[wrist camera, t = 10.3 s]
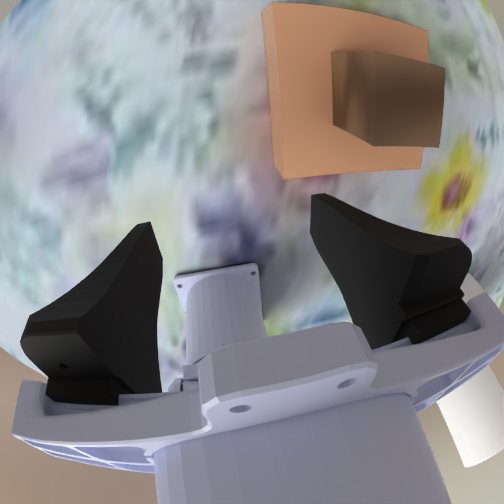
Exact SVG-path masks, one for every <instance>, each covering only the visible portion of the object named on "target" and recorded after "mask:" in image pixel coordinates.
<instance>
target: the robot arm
mask: <svg viewBox="0 0 504 504" xmlns="http://www.w3.org/2000/svg"><path fill="white" fill-rule="evenodd" d="M310 234H311V236H312V239H313V241H314V244H315V246H316V248H317V250H318V252H319V254H320V256H321V257H322V259H323V261H324V262H325V264H326V266H327V268H328V269H329V271H330V273H331V274H332V276H333V278H334V280H335V281H336V283H337V285H338V287H339V289H340V291H341V293H342V295H343V298H344V300H345V303H346V305H347V308H348V310H349V313H350V316H351V318H352V321H353V324H352V323H350V322H340V323H329V324H325V325H321V326H317V327H312V328H308V329H304V330H300V331H295V332H291V333H286V334H281V335H277V336H272V337H268V336H267V332H266V328H265V325H264V321H263V314H262V303H261V292H260V281H259V271H258V266H257V264H256V263H249V264H243V265H238V266H232V267H226V268H220V269H215V270H209V271H203V272H197V273H191V274H185V275H179V276H175V277H174V279H173V283H174V286H175V288H176V291H177V294H178V296H179V299H180V301H181V304H182V306H183V309H184V312H185V314H186V356H187V365H186V366H183V377H184V380H183V378H176V379H175V380H174V381H173V383H172V384H171V385H170V387H169V389H168V392H165V393H162V387H161V380H160V371H159V361H158V345H157V317H158V309H159V300H160V293H161V285H162V277H163V258H162V255H161V252H160V249H159V246H158V243H157V240H156V237H155V234H154V231H153V228H152V225H151V222H146V223H141V224H137V225H136V226H135V227H134V228H133V229H132V230H131V231H130V232H129V233H128V234H127V236H126V237H125V238H124V239H123V240H122V241H121V242H120V243H119V245H118V246H117V247H116V248H115V249H114V250H113V251H112V252H111V253H110V254H109V255H108V256H107V257H106V259H105V260H104V261H103V262H102V263H101V264H100V265H99V266H98V267H97V268H96V269H95V270H94V271H92V272H91V273H90V274H89V275H88V276H87V277H86V278H85V279H83V280H82V281H81V282H80V283H78V284H77V285H76V286H75V287H73V288H72V289H71V290H70V291H68V292H67V293H66V294H64V295H63V296H61V297H60V298H58V299H57V300H55V301H54V302H52V303H51V304H49V305H47V306H46V307H44V308H42V309H40V310H39V311H37V312H35V313H33V314H32V315H30V316H29V318H28V321H27V324H26V326H25V329H24V332H23V334H22V337H21V340H20V344H21V347H22V349H23V351H24V353H25V355H26V356H27V357H28V358H29V359H30V360H31V361H32V362H33V363H34V364H35V365H36V366H37V367H38V368H39V369H40V370H41V371H42V372H43V373H44V374H46V375H47V376H48V377H49V378H48V383H47V384H46V383H43V382H40V381H31V380H22V382H21V386H20V390H19V395H18V399H17V405H16V409H15V415H14V421H13V427H12V434H13V436H15V437H17V438H19V439H21V440H22V441H24V442H26V443H28V444H30V445H32V446H34V447H35V448H38V449H40V450H42V451H44V452H46V453H48V454H50V455H52V456H56V457H60V458H64V459H68V460H73V461H77V462H82V463H87V464H92V465H97V466H103V467H108V468H114V469H121V470H128V471H137V472H147V473H155V478H156V489H157V499H158V504H451V502H450V498H449V495H448V492H447V489H446V486H445V484H444V481H443V478H442V475H441V472H440V470H439V467H438V464H437V462H436V459H435V456H434V454H433V451H432V449H431V446H430V444H429V441H428V439H427V437H426V434H425V432H424V430H423V427H422V425H421V422H420V420H419V418H418V416H417V413H418V412H420V411H421V410H423V409H425V408H427V407H428V406H430V405H432V404H433V403H435V402H436V401H438V400H440V399H441V398H443V397H444V396H446V395H447V394H449V393H450V392H452V391H453V390H455V389H456V388H458V387H459V386H461V385H462V384H463V383H465V382H466V381H468V380H469V379H471V378H472V377H473V376H475V375H476V374H478V373H479V372H480V371H482V370H483V369H484V368H486V367H487V366H488V365H489V364H490V363H491V361H492V360H493V359H494V358H495V357H496V356H497V355H498V354H499V353H500V351H501V350H502V349H503V348H504V315H503V314H502V313H501V311H500V310H499V309H498V307H497V306H496V305H495V303H494V302H493V301H492V299H491V298H490V297H489V296H488V294H487V293H486V292H483V293H481V294H479V295H477V296H475V297H473V298H471V299H470V300H469V301H468V302H467V303H465V302H464V301H463V299H462V298H463V297H464V292H463V291H462V290H461V289H460V287H461V285H462V283H463V281H464V279H465V277H466V275H467V273H468V271H469V268H470V266H471V261H472V253H471V251H470V249H469V248H468V247H467V246H466V245H465V244H464V243H463V242H462V241H461V240H460V239H457V238H450V237H443V236H436V235H432V234H427V233H422V232H418V231H414V230H411V229H407V228H404V227H401V226H398V225H395V224H392V223H389V222H387V221H384V220H381V219H379V218H376V217H374V216H372V215H370V214H368V213H365V212H363V211H361V210H359V209H357V208H355V207H353V206H351V205H349V204H347V203H345V202H343V201H341V200H339V199H337V198H334V197H332V196H330V195H327V194H324V193H322V194H314V195H311V224H310ZM253 271H255V272H254V273H251V272H253ZM178 284H181V285H178Z"/></svg>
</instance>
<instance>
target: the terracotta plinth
mask: <svg viewBox="0 0 504 504" xmlns="http://www.w3.org/2000/svg"><path fill="white" fill-rule="evenodd" d="M261 13H262V23H263V33H264V43H265V54H266V65H267V77H268V89H269V102H270V116H271V131H272V146H273V163H274V166H275V167H276V169H277V170H278V171H279V173H280V174H281V176H282V177H283V178H284V179H292V178H301V177H310V176H319V175H330V174H341V173H353V172H367V171H383V170H404V169H420V168H421V161H422V155H423V148H424V147H408V146H377V147H374V146H372V145H370V144H368V143H367V142H365V141H363V140H361V139H359V138H357V137H356V136H354V135H352V134H350V133H348V132H346V131H344V130H342V129H340V128H338V127H336V126H334V125H333V98H332V69H331V52H348V51H377V52H382V53H388V54H393V55H397V56H402V57H406V58H411V59H415V60H418V61H422V62H426V63H429V46H428V31H427V30H425V29H422V28H419V27H416V26H413V25H410V24H407V23H404V22H400V21H397V20H393V19H390V18H386V17H382V16H378V15H374V14H370V13H365V12H360V11H355V10H350V9H344V8H337V7H330V6H322V5H313V4H302V3H283V2H272V3H270V4H269V5H268V6H267V7H266V8H265V9H264V10H263V11H262V12H261Z"/></svg>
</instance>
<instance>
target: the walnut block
mask: <svg viewBox="0 0 504 504" xmlns="http://www.w3.org/2000/svg"><path fill="white" fill-rule="evenodd" d="M331 69H332V98H333V125H334V126H336V127H338V128H340V129H342V130H344V131H346V132H348V133H350V134H352V135H354V136H356V137H357V138H359V139H361V140H363V141H365V142H367V143H368V144H370V145H372V146H374V147H377V146H408V147H438V148H439V143H440V136H441V127H442V117H443V105H444V85H445V68H443V67H440V66H436V65H433V64H429V63H426V62H422V61H418V60H415V59H411V58H406V57H402V56H397V55H393V54H388V53H382V52H377V51H348V52H331Z"/></svg>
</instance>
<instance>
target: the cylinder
mask: <svg viewBox="0 0 504 504" xmlns="http://www.w3.org/2000/svg"><path fill="white" fill-rule="evenodd" d="M460 289H461V290H462V291H463V292H464V297H463V298H462V299H463V301H464V302H465V303H467V302H468V301H469V300H470V299H471V298H473V297H475V296H477V295H479V294H481V293H483V292H485V291H484V289H483V288H482V287H481V286H480V284H479V283H478V282H477V281H476V280H475V279H474V277H473V276H472V275H471V274H470V273H467V275H466V277H465V279H464V281H463V283H462V285H461V287H460ZM503 349H504V348H503ZM503 349H502V350H503ZM502 350H501V351H502ZM501 351H500V352H501ZM498 355H499V354H498ZM498 355H497V356H498ZM497 356H496V357H497ZM496 357H495V358H496ZM493 360H494V359H493ZM493 360H492V361H493ZM492 361H491V362H492ZM436 402H437V404H438V406H439V408H440V410H441V412H442V414H443V417H444V419H445V421H446V423H447V426H448V428H449V430H450V433H451V435H452V437H453V439H454V442H455V444H456V447H457V449H458V452H459V454H460V457H461V459H462V462H463V465H464V467H471V466H474V465H476V464H478V463H481V462H483V461H485V460H486V459H488V458H490V457H491V456H493V455H495V454H497V453H498V452H499V451H501V450H502V449H504V392H503V390H502V388H501V386H500V384H499V382H498V380H497V379H496V377H495V375H494V373H493V372H492V370H491V368H490V366H489V365H488V366H487V367H486V368H484V369H483V370H482V371H480V372H479V373H478V374H476V375H475V376H473V377H472V378H471V379H469V380H468V381H466V382H465V383H463V384H462V385H461V386H459V387H458V388H456V389H455V390H453V391H452V392H450V393H449V394H447V395H446V396H444V397H443V398H441V399H440V400H438V401H436Z"/></svg>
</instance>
